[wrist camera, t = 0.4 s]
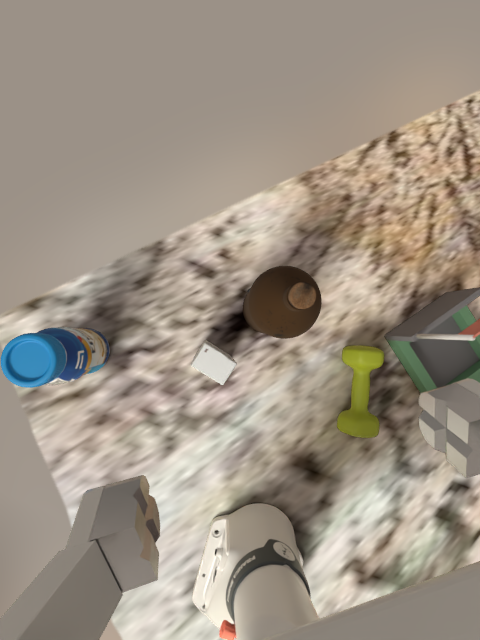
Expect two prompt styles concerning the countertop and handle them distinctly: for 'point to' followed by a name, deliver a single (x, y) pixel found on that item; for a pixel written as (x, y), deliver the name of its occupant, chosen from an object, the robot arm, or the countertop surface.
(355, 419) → the dumbbell
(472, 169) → the countertop surface
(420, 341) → the putting green
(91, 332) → the beverage bottle
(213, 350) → the skincare box
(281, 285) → the olive oil
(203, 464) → the countertop surface
